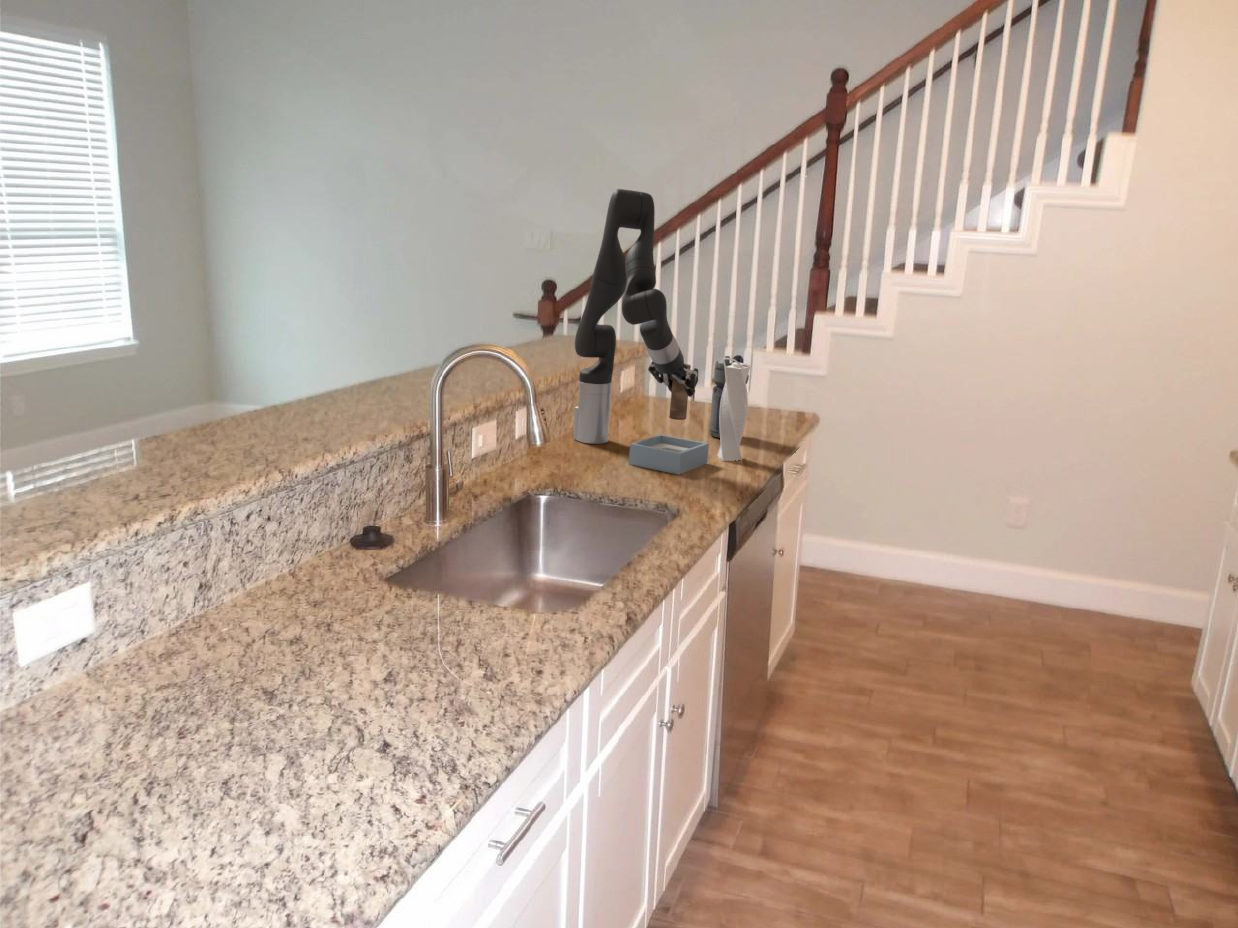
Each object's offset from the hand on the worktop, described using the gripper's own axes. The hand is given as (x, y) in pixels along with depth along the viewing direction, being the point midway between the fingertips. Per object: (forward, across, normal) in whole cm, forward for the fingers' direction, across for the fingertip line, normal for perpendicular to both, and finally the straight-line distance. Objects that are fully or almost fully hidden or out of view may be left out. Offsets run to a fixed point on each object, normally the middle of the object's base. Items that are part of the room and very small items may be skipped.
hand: (683, 392), depth 254 cm
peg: (+3, 0, +6) cm, 7 cm away
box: (+12, +2, +15) cm, 19 cm away
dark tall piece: (+43, +5, -15) cm, 46 cm away
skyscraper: (+25, -8, +3) cm, 26 cm away
